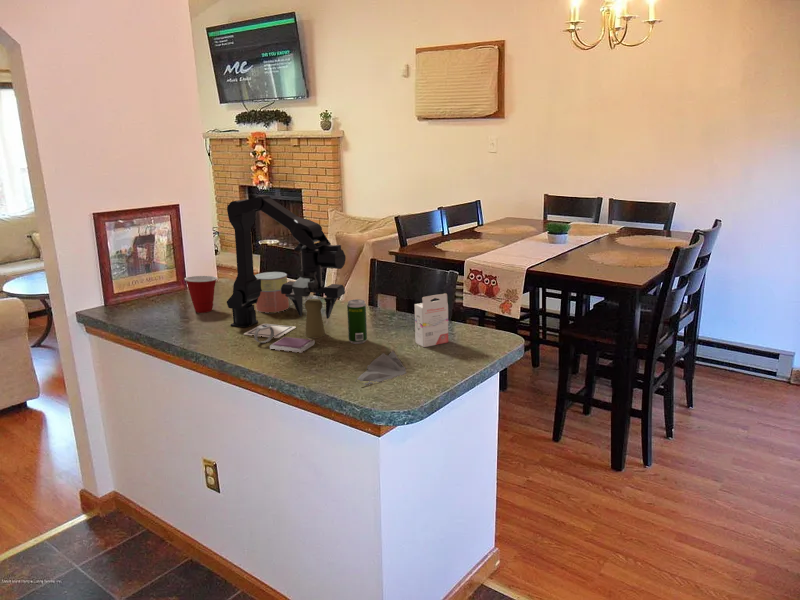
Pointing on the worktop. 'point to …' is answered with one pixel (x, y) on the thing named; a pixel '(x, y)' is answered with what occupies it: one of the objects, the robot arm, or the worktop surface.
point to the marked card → (278, 331)
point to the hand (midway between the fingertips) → (314, 317)
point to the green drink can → (357, 321)
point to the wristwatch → (263, 329)
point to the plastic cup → (201, 292)
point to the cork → (314, 319)
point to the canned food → (272, 292)
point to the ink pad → (292, 344)
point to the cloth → (383, 369)
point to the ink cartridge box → (431, 321)
